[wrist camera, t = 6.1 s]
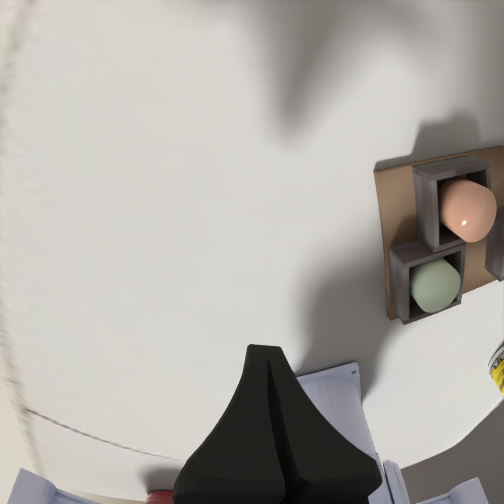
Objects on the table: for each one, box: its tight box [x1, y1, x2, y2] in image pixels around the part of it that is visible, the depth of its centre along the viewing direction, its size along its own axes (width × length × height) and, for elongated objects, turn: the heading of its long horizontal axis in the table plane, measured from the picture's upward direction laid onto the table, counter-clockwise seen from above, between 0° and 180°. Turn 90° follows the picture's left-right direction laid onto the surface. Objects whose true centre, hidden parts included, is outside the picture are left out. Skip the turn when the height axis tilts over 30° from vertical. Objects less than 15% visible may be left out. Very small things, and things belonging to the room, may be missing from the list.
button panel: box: [374, 146, 504, 325], centre depth 19 cm, size 12×15×3 cm
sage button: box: [409, 257, 460, 313], centre depth 20 cm, size 4×4×3 cm
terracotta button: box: [437, 176, 497, 243], centre depth 16 cm, size 4×4×3 cm
